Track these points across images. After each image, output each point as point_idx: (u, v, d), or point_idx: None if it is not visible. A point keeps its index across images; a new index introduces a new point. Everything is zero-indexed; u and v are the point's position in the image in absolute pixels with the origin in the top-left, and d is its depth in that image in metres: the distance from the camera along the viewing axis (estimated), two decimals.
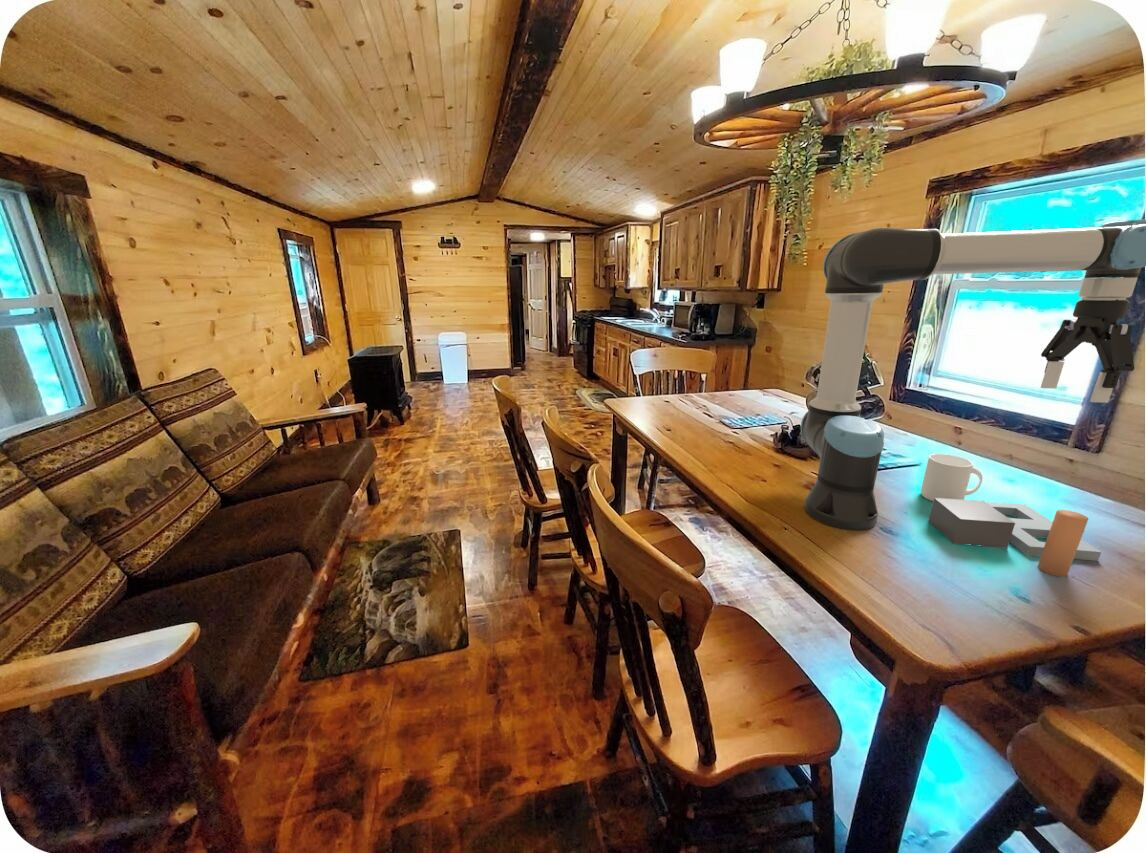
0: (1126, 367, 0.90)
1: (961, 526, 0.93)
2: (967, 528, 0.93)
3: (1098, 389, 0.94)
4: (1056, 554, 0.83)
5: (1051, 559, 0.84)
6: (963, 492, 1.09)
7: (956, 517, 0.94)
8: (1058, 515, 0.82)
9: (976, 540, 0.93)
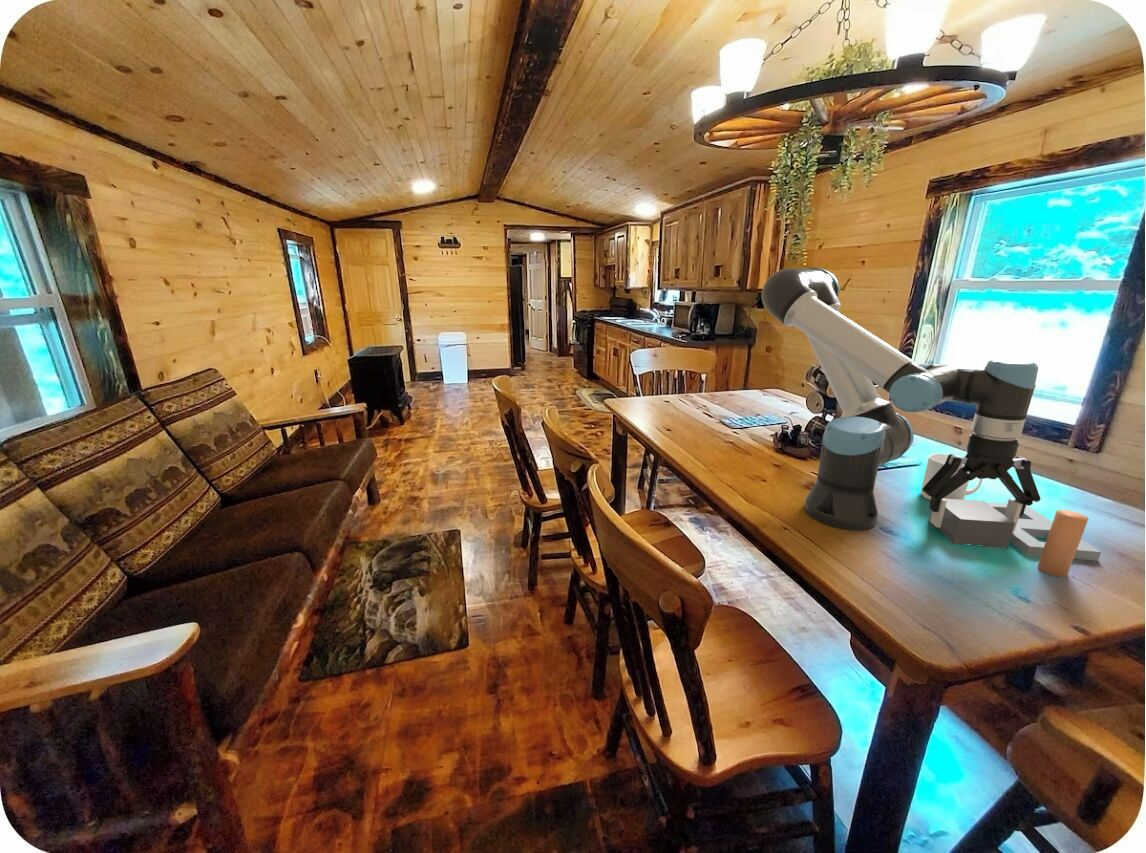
0: (925, 490, 0.97)
1: (961, 526, 0.93)
2: (967, 528, 0.93)
3: (933, 510, 0.98)
4: (1056, 554, 0.83)
5: (1051, 559, 0.84)
6: (963, 492, 1.09)
7: (956, 517, 0.94)
8: (1058, 515, 0.82)
9: (976, 540, 0.93)
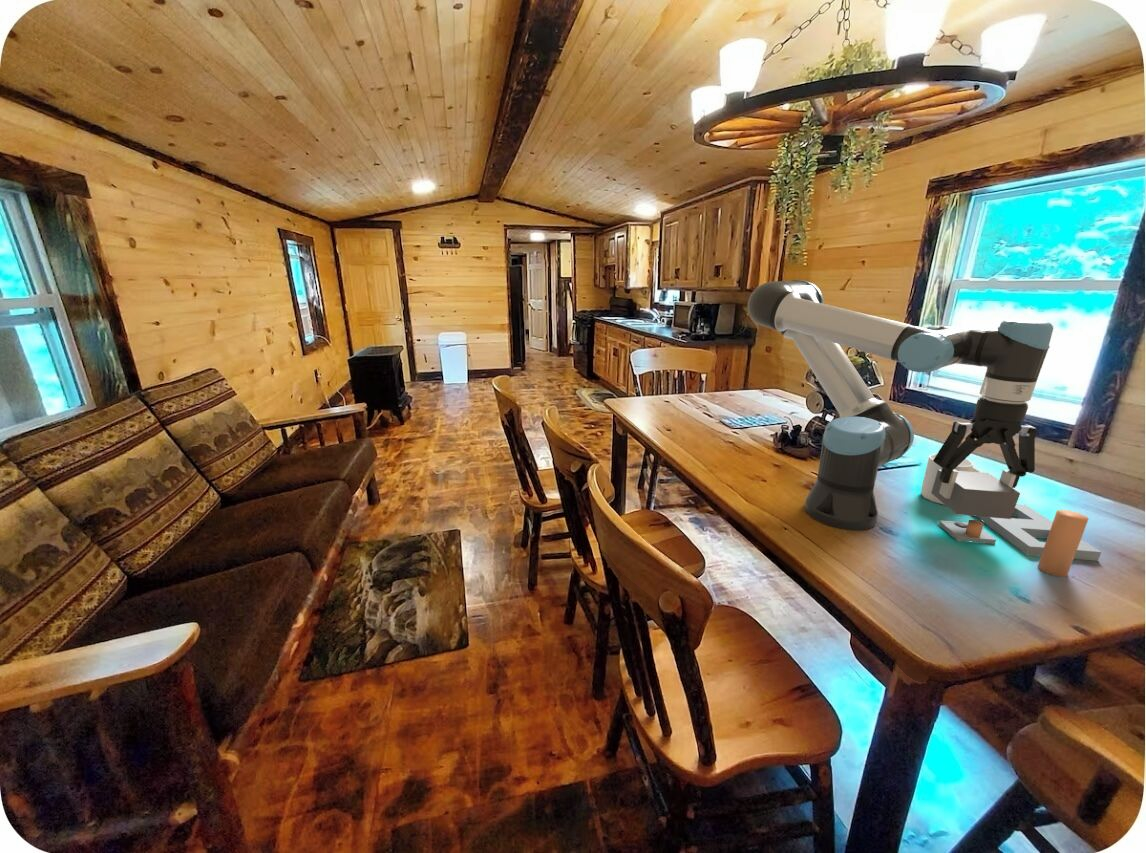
0: (936, 461, 0.95)
1: (965, 496, 0.92)
2: (971, 498, 0.92)
3: (943, 482, 0.97)
4: (1056, 554, 0.83)
5: (1051, 559, 0.84)
6: None
7: (960, 487, 0.93)
8: (1058, 515, 0.82)
9: (979, 511, 0.92)
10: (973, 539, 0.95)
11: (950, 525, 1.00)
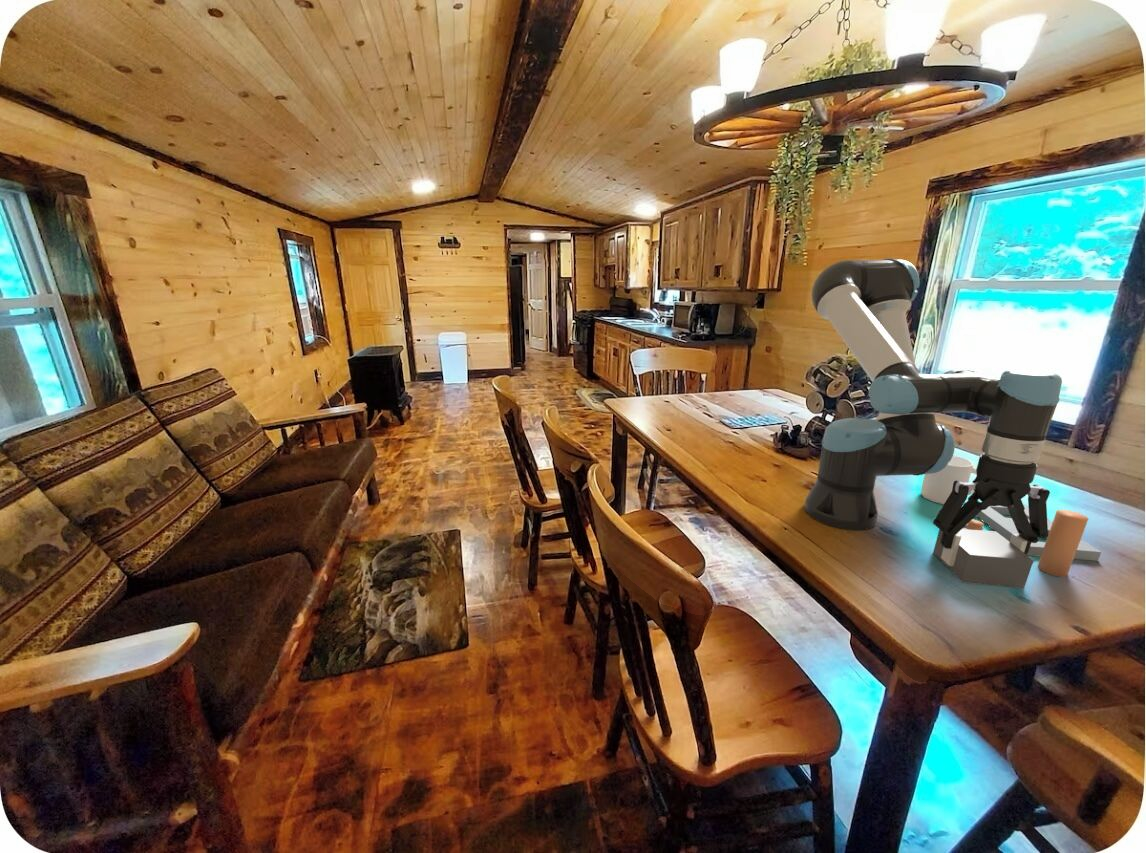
0: (936, 524, 0.85)
1: (971, 562, 0.81)
2: (978, 565, 0.81)
3: None
4: (1056, 554, 0.83)
5: (1051, 559, 0.84)
6: None
7: (965, 552, 0.82)
8: (1058, 515, 0.82)
9: (988, 579, 0.81)
10: None
11: None
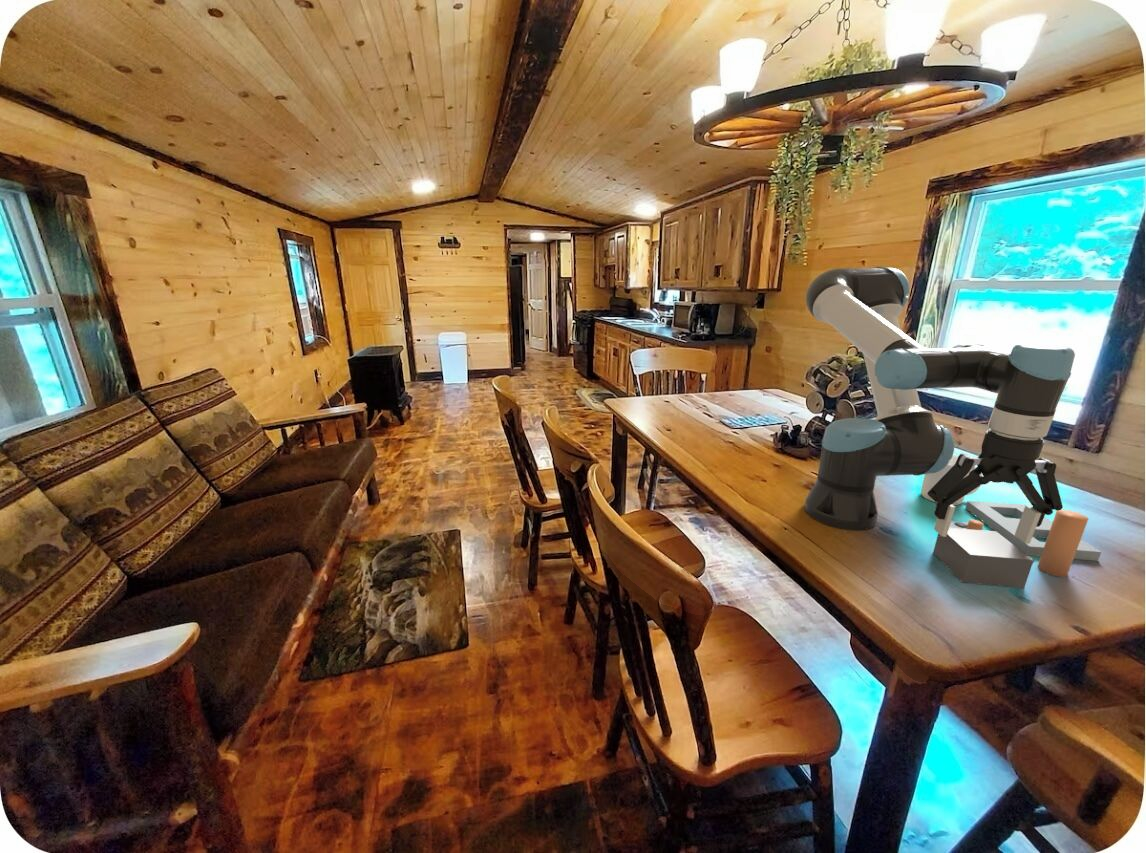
0: (931, 494, 0.84)
1: (971, 562, 0.81)
2: (978, 565, 0.81)
3: None
4: (1056, 554, 0.83)
5: (1051, 559, 0.84)
6: None
7: (965, 552, 0.82)
8: (1058, 515, 0.82)
9: (988, 578, 0.81)
10: None
11: (950, 525, 1.00)
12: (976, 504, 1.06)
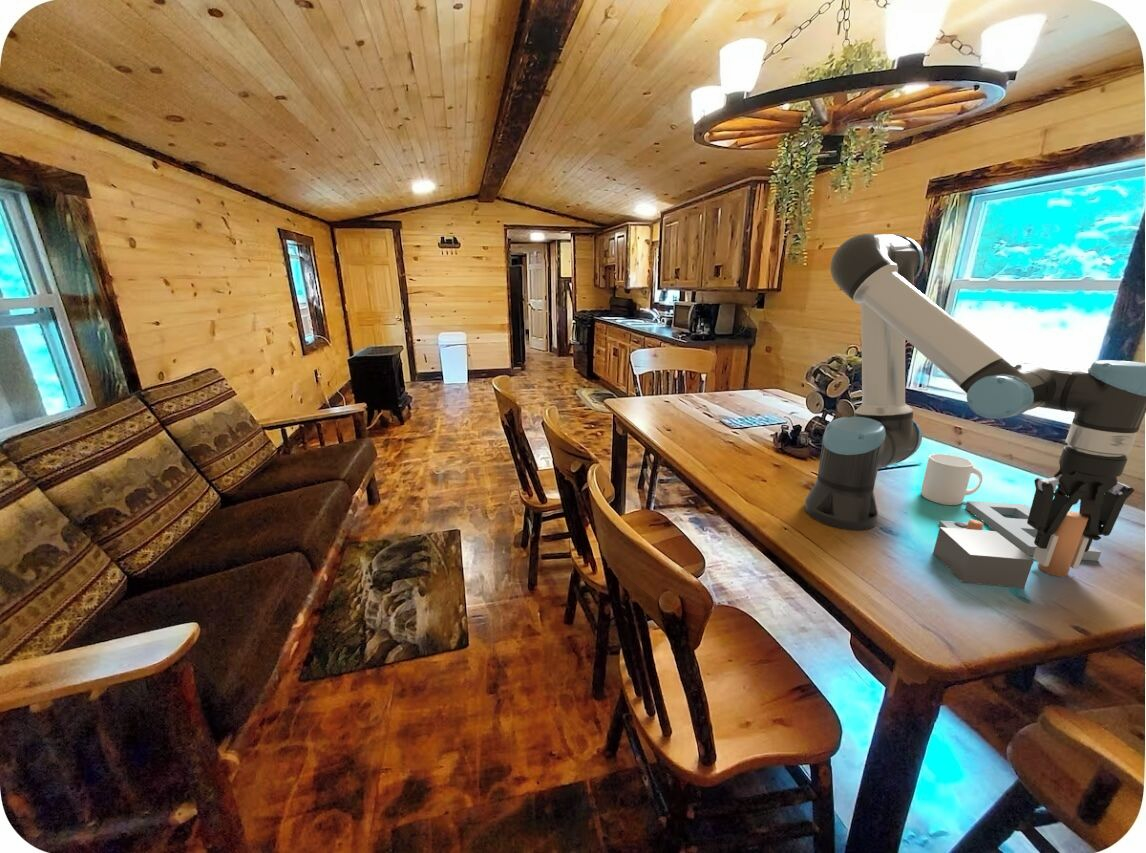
0: (1031, 524, 0.84)
1: (971, 562, 0.81)
2: (978, 565, 0.81)
3: (1038, 546, 0.85)
4: (1056, 554, 0.83)
5: None
6: (963, 492, 1.09)
7: (965, 552, 0.82)
8: None
9: (988, 578, 0.81)
10: None
11: (950, 525, 1.00)
12: (976, 504, 1.06)
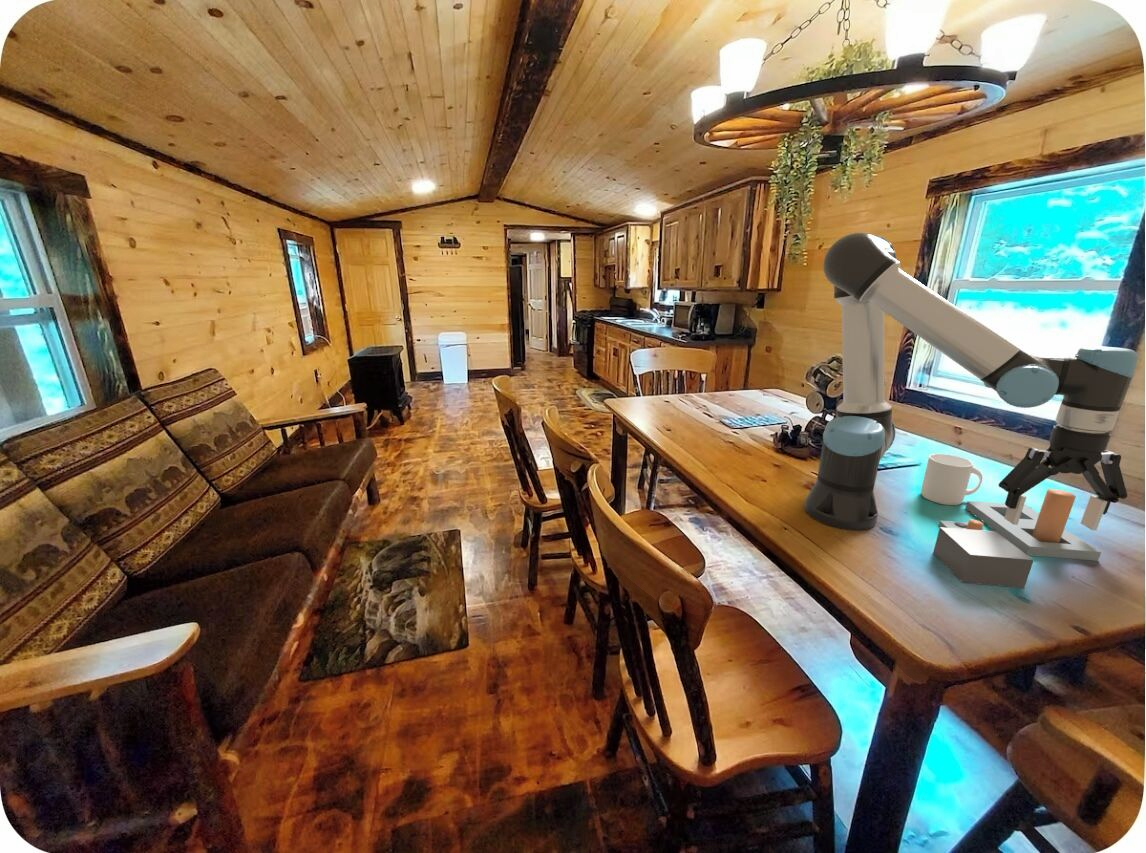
0: (1003, 485, 0.92)
1: (971, 562, 0.81)
2: (978, 565, 0.81)
3: (1008, 507, 0.94)
4: (1047, 529, 0.91)
5: (1042, 533, 0.92)
6: (963, 492, 1.09)
7: (965, 552, 0.82)
8: (1048, 493, 0.90)
9: (988, 578, 0.81)
10: None
11: (950, 525, 1.00)
12: (976, 504, 1.06)
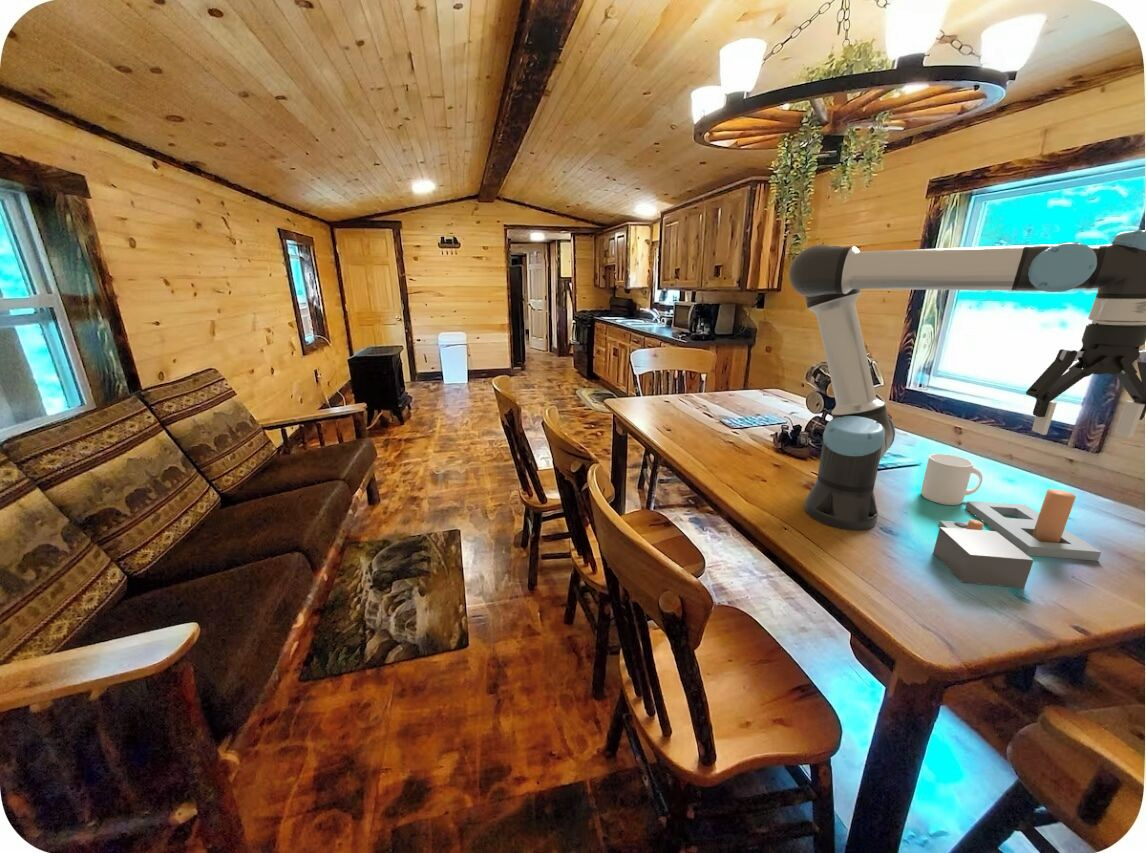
0: (1031, 392, 0.86)
1: (971, 562, 0.81)
2: (978, 565, 0.81)
3: (1036, 417, 0.88)
4: (1047, 529, 0.91)
5: (1042, 533, 0.92)
6: (963, 492, 1.09)
7: (965, 552, 0.82)
8: (1049, 493, 0.90)
9: (988, 578, 0.81)
10: None
11: (950, 525, 1.00)
12: (976, 504, 1.06)
